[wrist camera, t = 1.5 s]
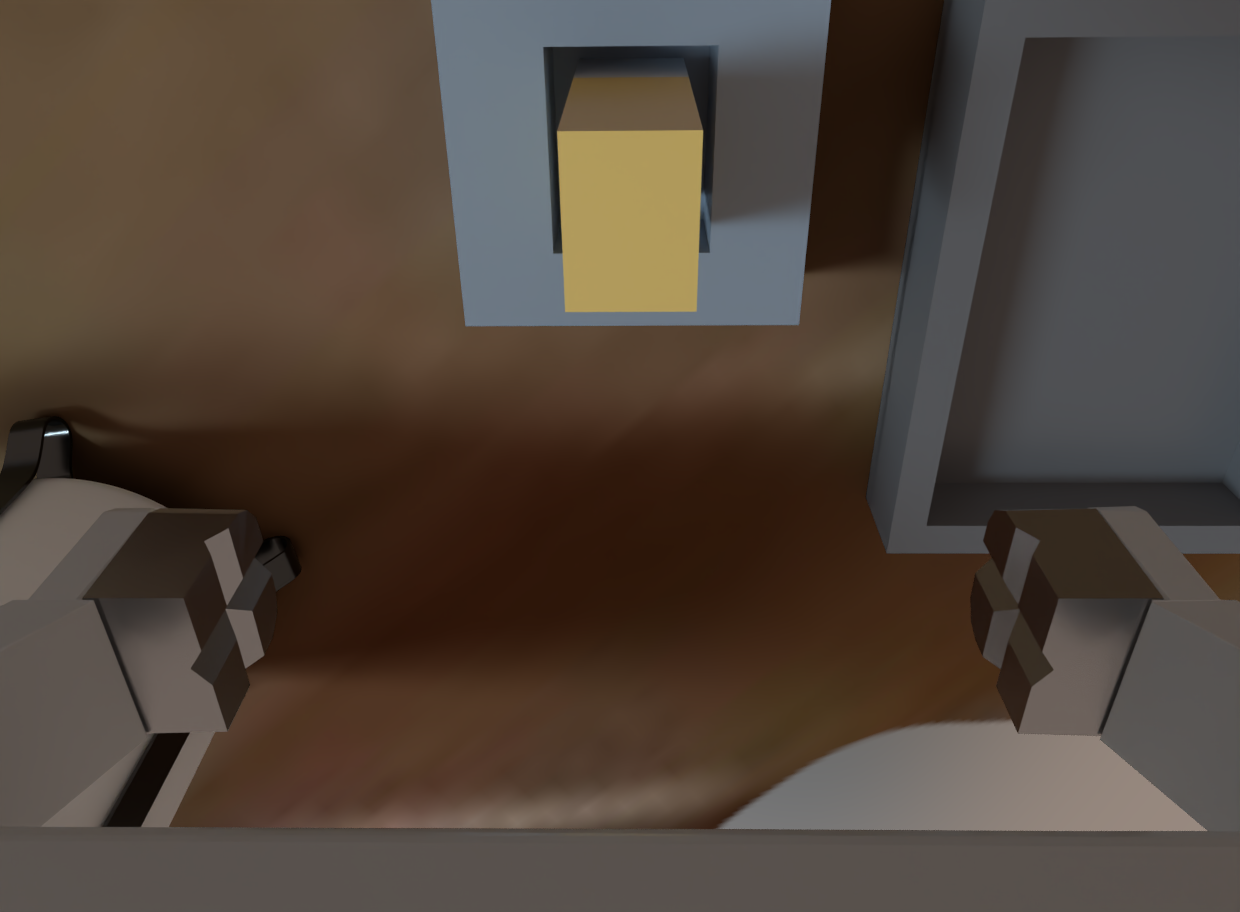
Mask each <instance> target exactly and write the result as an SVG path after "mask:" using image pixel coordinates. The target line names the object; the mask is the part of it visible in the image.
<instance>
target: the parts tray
mask: <svg viewBox="0 0 1240 912" xmlns="http://www.w3.org/2000/svg"><path fill="white" fill-rule="evenodd" d="M866 499H867V502H868V505H869V507H870V510H871V513H872V515H873V518H874V521H875V523H876V526H877V529H878V531H879V534H880V537H881V539H882V542H883V545H884V547H885V550H886V553H989V552H988V550H987V548H986V546H985V544H984V542H983V539H984V535H985V531H986V527H987V523H988V521H989V519H990V517H991V516H992V514H993V512H994V510H1029V509H1087V508H1091V507H1122V506H1136V507H1138V508H1140V509H1142V510H1145V511H1146V512H1147V513H1148V514H1149V515H1150V516H1151V517H1152V519H1153V520H1154V521H1155V522H1156V523H1157V525H1158V526H1159V527H1160V528H1161V529H1162V531H1163V532H1164V533H1165V534H1166V535H1167V537H1168V538H1169V539H1170V540H1171V541H1172V543H1173V544H1174V545H1175V546H1176V547H1177V549H1178V550H1179V551H1180V552H1181V553H1240V0H944V4H943V10H942V17H941V23H940V29H939V36H938V42H937V48H936V55H935V61H934V67H933V74H932V80H931V87H930V93H929V99H928V106H927V112H926V118H925V125H924V131H923V137H922V144H921V150H920V156H919V163H918V169H917V175H916V182H915V188H914V195H913V201H912V207H911V214H910V220H909V226H908V233H907V239H906V245H905V252H904V258H903V264H902V271H901V277H900V284H899V290H898V296H897V303H896V309H895V315H894V322H893V328H892V334H891V341H890V347H889V353H888V360H887V366H886V372H885V379H884V385H883V392H882V398H881V404H880V411H879V417H878V423H877V430H876V436H875V442H874V449H873V455H872V461H871V468H870V474H869V481H868V487H867V493H866Z"/></svg>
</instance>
